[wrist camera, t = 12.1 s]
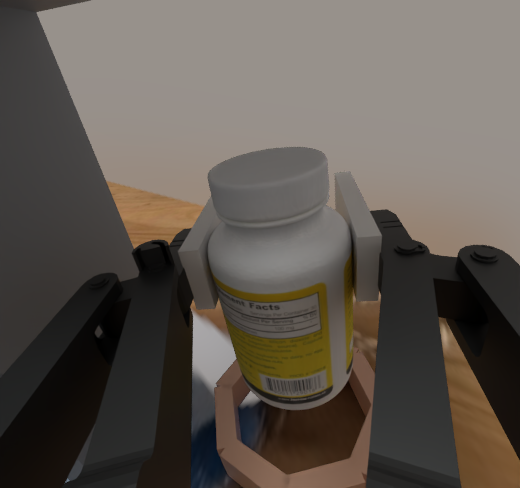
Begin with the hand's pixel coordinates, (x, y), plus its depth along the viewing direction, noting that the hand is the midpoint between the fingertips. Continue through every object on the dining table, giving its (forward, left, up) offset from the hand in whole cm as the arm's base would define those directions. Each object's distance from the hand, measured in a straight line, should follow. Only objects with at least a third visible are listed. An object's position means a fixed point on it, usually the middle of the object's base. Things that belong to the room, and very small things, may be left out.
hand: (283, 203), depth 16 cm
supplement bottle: (+3, -5, -6) cm, 8 cm away
